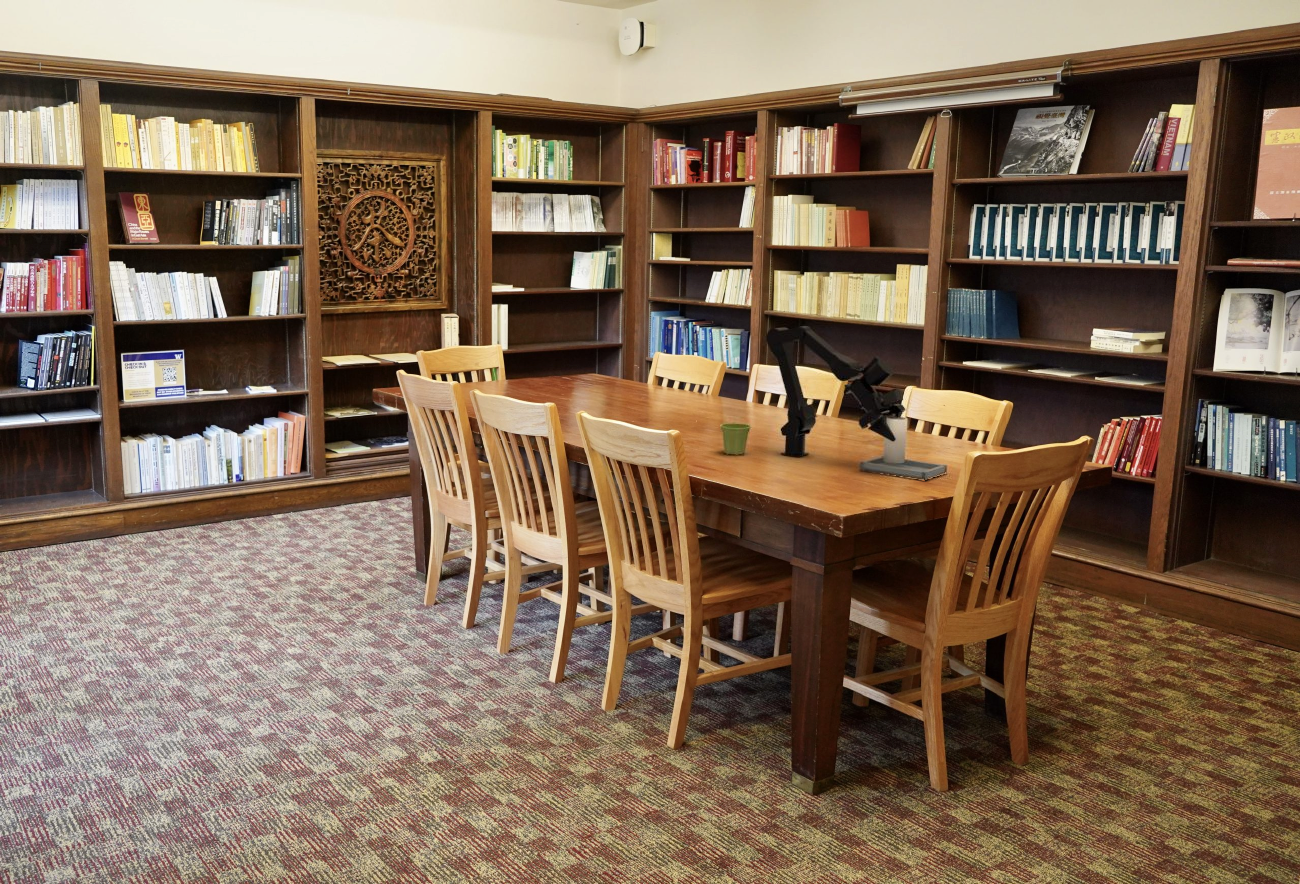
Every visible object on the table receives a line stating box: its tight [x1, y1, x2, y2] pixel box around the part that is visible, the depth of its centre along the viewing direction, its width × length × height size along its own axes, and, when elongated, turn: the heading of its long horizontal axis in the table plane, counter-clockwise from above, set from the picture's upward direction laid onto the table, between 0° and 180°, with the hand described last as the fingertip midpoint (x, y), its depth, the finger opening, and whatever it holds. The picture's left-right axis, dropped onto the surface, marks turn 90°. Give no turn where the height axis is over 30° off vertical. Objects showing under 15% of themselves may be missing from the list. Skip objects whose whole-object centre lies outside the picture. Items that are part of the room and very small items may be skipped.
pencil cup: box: [882, 416, 908, 463], centre depth 319 cm, size 6×6×12 cm
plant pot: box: [719, 422, 752, 455], centre depth 339 cm, size 9×9×9 cm
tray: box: [859, 455, 948, 480], centre depth 318 cm, size 14×20×2 cm
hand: (899, 439), depth 318 cm, fingers closed on pencil cup, 6 cm apart
